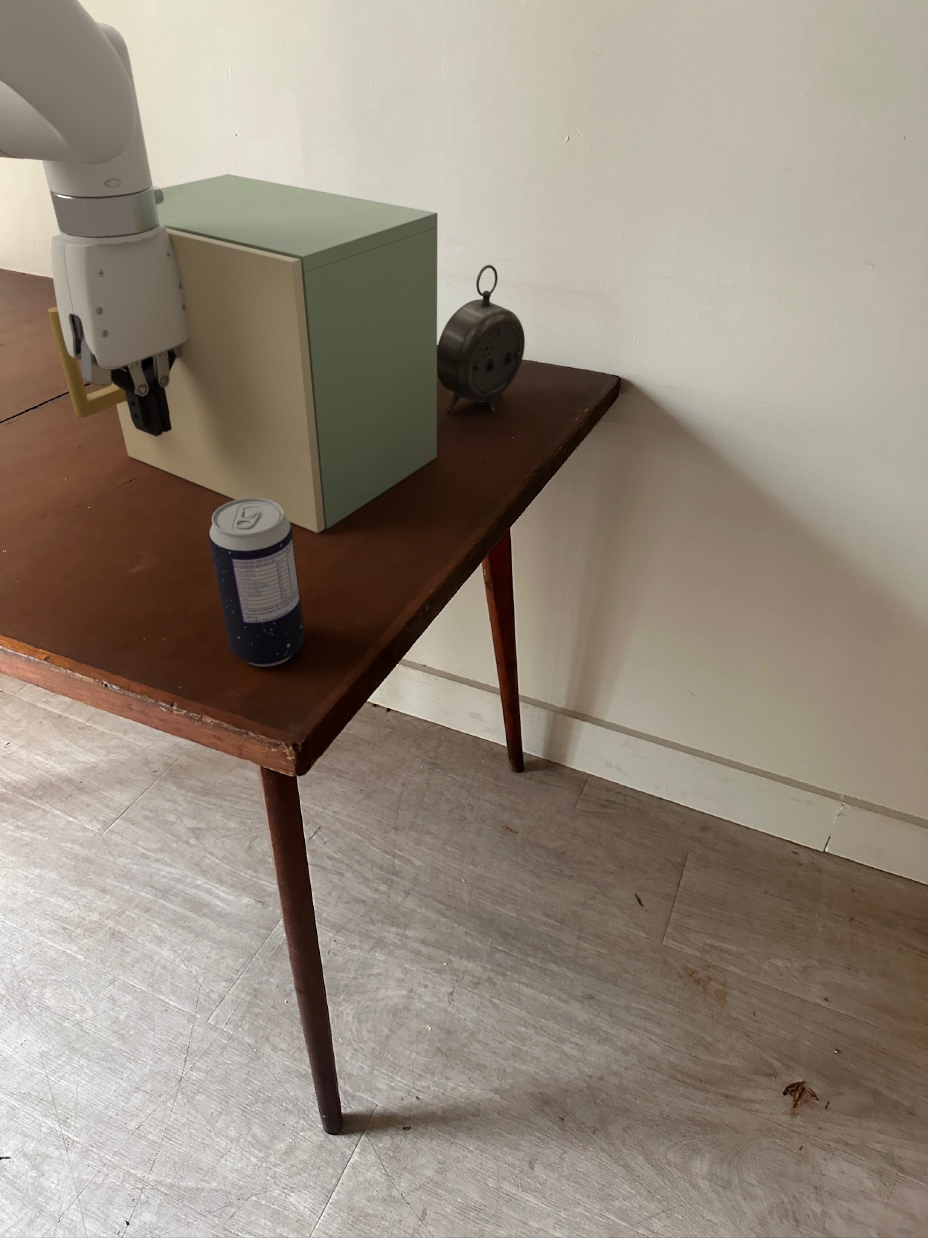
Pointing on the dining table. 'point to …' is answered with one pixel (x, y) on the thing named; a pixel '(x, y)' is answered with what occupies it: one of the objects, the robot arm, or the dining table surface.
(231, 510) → the beverage can
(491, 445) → the dining table surface
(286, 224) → the cupboard
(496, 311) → the alarm clock
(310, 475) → the cupboard door
